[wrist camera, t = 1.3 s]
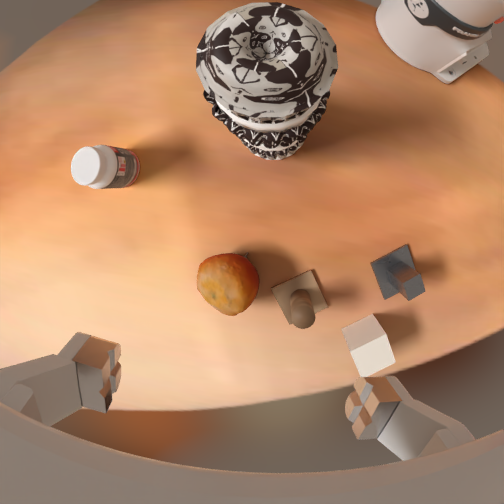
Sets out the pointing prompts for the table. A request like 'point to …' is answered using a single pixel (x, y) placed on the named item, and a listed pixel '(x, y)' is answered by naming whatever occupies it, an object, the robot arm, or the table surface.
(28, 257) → the table surface
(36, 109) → the table surface
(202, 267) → the fruit
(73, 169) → the pill bottle
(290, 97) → the black white cylinder
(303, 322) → the knob on square plate
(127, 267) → the table surface
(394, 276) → the grey square post stand
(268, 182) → the table surface
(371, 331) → the white rectangular block
